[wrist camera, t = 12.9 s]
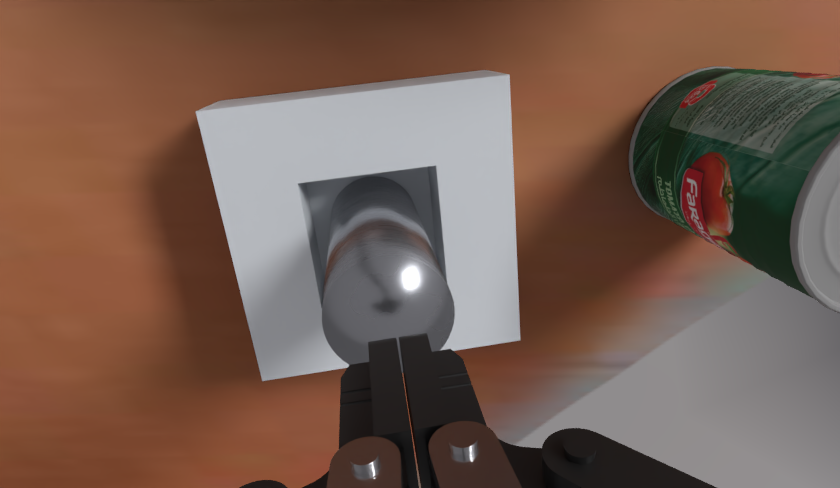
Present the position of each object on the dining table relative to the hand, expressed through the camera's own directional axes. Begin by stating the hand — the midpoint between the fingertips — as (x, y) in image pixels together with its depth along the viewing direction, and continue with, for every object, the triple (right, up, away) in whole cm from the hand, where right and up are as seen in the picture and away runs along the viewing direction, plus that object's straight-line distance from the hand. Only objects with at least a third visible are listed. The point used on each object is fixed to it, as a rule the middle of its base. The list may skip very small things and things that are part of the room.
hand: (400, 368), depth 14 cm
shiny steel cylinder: (-2, +4, +12) cm, 13 cm away
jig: (-2, +5, +13) cm, 14 cm away
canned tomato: (+15, +8, +14) cm, 22 cm away
